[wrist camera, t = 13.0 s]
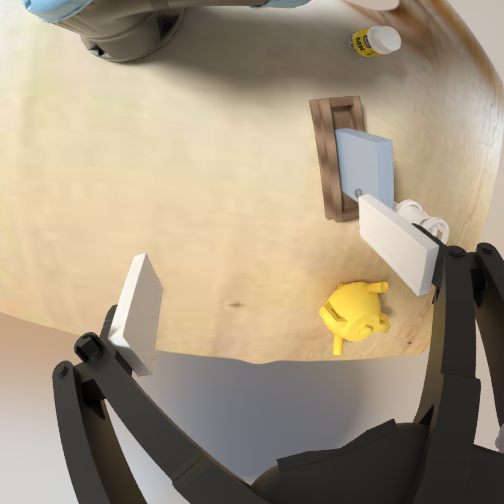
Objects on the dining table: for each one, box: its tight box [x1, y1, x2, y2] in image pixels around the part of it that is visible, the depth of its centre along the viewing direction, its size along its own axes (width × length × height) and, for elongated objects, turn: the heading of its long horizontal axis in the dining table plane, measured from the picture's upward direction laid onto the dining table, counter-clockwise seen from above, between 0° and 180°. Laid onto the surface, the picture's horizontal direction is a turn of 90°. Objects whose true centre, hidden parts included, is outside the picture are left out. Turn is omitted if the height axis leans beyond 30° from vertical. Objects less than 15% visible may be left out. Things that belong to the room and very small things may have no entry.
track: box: [309, 96, 364, 222], centre depth 40 cm, size 20×8×3 cm, turn 12°
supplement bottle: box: [349, 26, 401, 57], centre depth 28 cm, size 5×5×8 cm
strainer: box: [394, 199, 449, 245], centre depth 41 cm, size 7×7×15 cm
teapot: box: [319, 281, 390, 355], centre depth 53 cm, size 20×18×11 cm
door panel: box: [334, 128, 394, 211], centre depth 35 cm, size 10×3×12 cm, turn 12°
